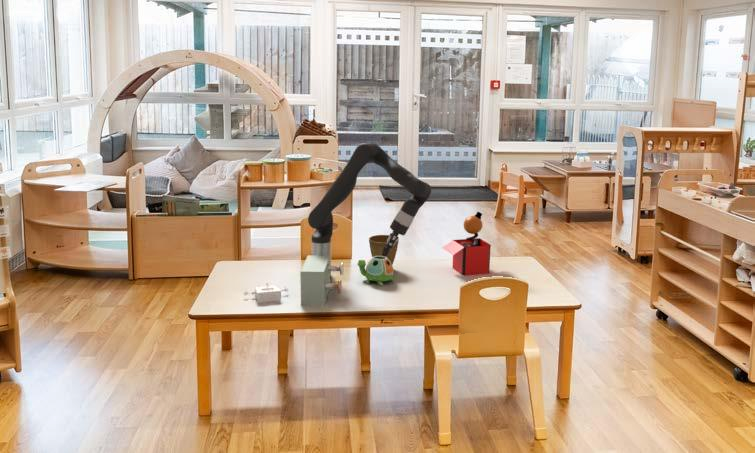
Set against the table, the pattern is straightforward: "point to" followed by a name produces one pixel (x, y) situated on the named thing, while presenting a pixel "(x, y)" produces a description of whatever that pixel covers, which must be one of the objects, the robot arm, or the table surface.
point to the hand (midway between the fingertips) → (383, 254)
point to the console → (315, 280)
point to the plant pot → (382, 247)
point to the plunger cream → (337, 268)
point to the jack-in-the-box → (470, 250)
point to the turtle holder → (377, 269)
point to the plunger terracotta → (334, 286)
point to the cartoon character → (267, 293)
